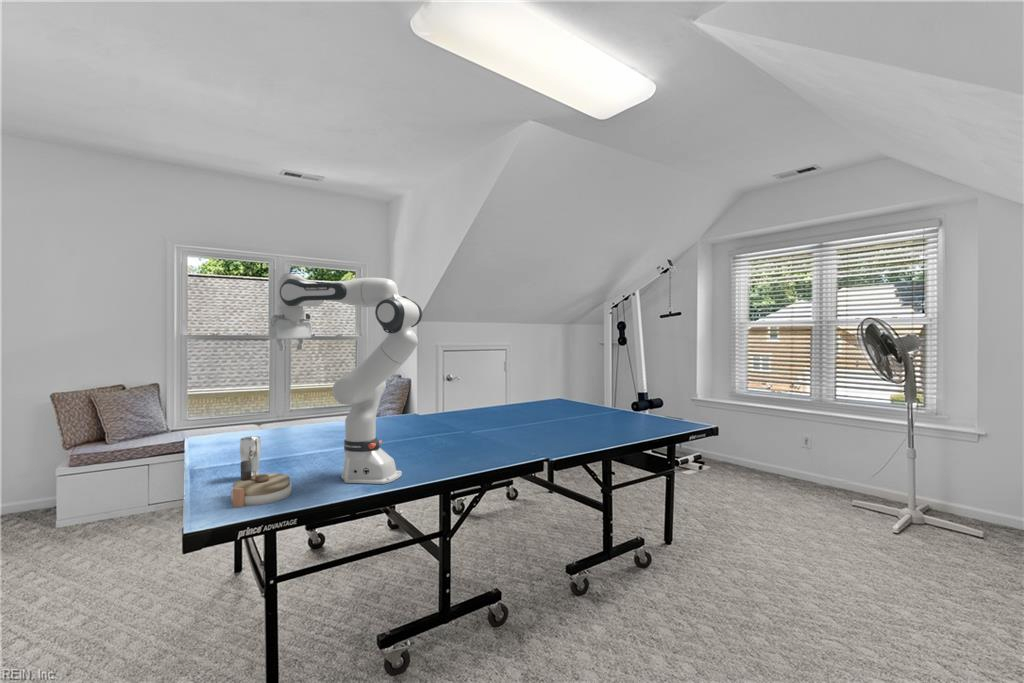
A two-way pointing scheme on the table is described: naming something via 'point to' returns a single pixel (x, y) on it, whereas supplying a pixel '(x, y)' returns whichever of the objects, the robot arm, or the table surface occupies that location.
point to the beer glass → (251, 452)
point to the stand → (257, 497)
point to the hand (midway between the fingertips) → (291, 350)
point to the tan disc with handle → (260, 481)
